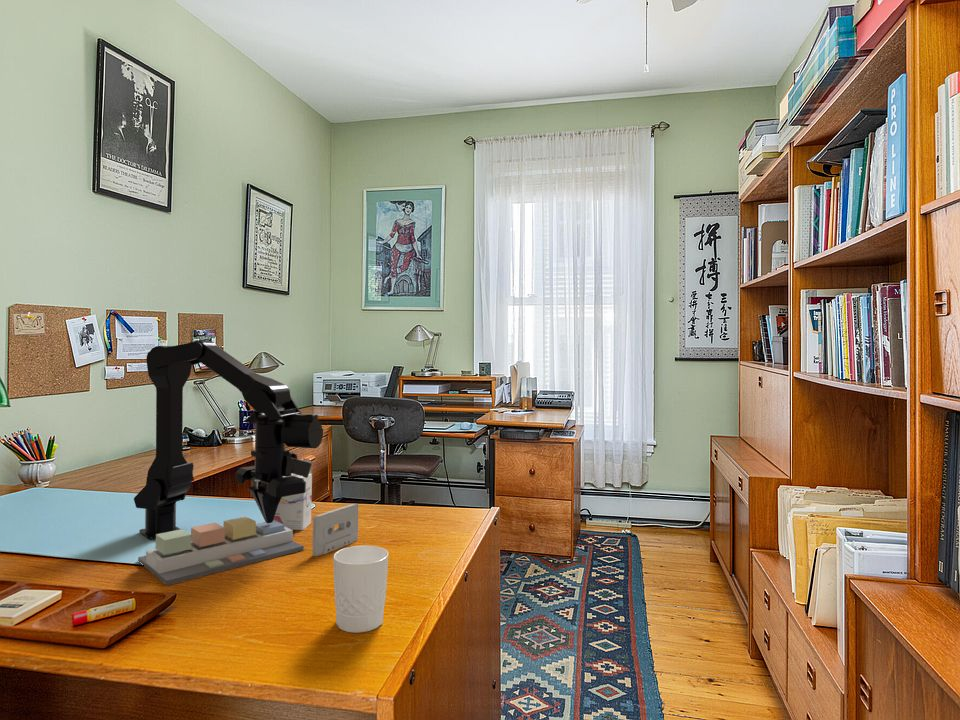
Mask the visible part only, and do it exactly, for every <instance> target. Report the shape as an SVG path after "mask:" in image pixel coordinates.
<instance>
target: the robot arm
mask: <svg viewBox="0 0 960 720" xmlns="http://www.w3.org/2000/svg"><path fill="white" fill-rule="evenodd" d="M198 364H202V365H204V366H205V367H206V368H208V369H209V370H211V371H212V372H213V373H215V374H216V375H218V376H219V377H220V378H222V379H223V380H225V381H226V382H228V383H229V384H230V385H232V386H234V388H236V389H238V391H239V392H240V393H241V395H242V397H243V400H244V401H245V402H246V403H247V404H248V405H249V406H250V407H251V408H252V409H253V410H254V411H253V412H252V413H251V414H250V415H249V416H248V417H247V418H245V421H244V422H245V423H247V424H255V429H254V431H255V433H254V435H255V436H254V440H255V441H254V449H251V451H250V456H251V457H254V465H251V466H242V467H239V468H238V469H237V471H236V472H235V482H237V483H238V484H244V483H246V481H249V480H250V481H251V486H249V487H247V488H248V491H249V492H250V494H251V496H252V498H253V499H254V501H255V503H256V505H257V508H258V509H259V512H260V513H261V516H262V517H263V520H264V522H266V523H272V522H273V519H274V516H275V513H276V510H277V508H278V505H279V502H280V500H281V498H282V497H284V496H290V495H296V494H301V493H305V492H306V482H305V481H304V480H303V479H302V478H299V477H295V476H291V473H293V474H296V475H300V476H303V477H305V478H308V475H309V472H310V469H311V470H312V466H313V463H312V462H311V463H309V462H306V461H302V460H303V459H298V454H296V453H293V452H291V451H290V450H288V449H286V447H289V448H300V449H314V450H315V449H317V448H319V447H320V446H321V444H322V441H323V437H324V429H323V425H322V423H321V421H320V420H319V416H318V414H317V413H308V414H307V413H302V412H301V409H300V408H299V407H298V406H297V404H296V402H295V401H294V399H293V398H292V395H291V389H290V388H289V387H288V386H287V385H286V384H285V383H282V382H280V381H277V380H276V379H273V378H271V377H267V376H264V375H261V374H259V373H257V372H255V371H253V370H252V369H250V368H249V367H248V366H246V365H245V364H243V363H242V362H241V361H239V360H238V359H236V358H235V357H233V356H232V355H231V354H229V353H228V352H226V351H225V350H223V349H222V348H221V347H219V346H218V344H217V343H215V342H214V341H212V340H202V339H201V340H197V339H196V340H194V341H190V342H188V343H183V344H177V345H156V346H154V347H152V348H151V349H150V350H149V351H148V352H147V354H146V368H147V369H146V370H147V375H148V377H149V379H150V381H151V382H152V384H153V385H154V387H155V392H156V394H155V406H156V407H155V410H156V412H155V458H154V459H153V461H152V463H151V465H150V467H149V469H148V470H147V475H146V481H145V485H144V487H143V488H141V490H140V491H139V492H138V493H137V494H136V495H135V496H134V497H133V502H134V504H135V509H145V510H144V512H145V516H144V517H145V519H144V520H145V521H144V525H145V527H144V528H140V529H139V531H138V533H140V534H141V533H142V534H141V535H142V536H144V537H146V538H147V539H148V540H149V539H156V534H160V533H165V532H170V531H175V530H180V529H181V528H180V527H178V526H177V514H176V513H177V503H178V502H180V501H184V500H185V498H186V495H187V493H188V491H189V490H190V489H191V486H192V484H193V483H192V482H194V481H195V479H194V472H193V471H194V466H195V465H194V463H193V462H191V461H190V462H188V461H187V460H186V458H185V456H184V455H183V427H184V426H183V423H184V422H183V418H184V417H183V416H184V415H183V412H184V411H183V406H184V405H183V404H184V403H183V401H184V400H183V399H184V398H183V397H184V395H183V393H184V392H183V391H184V387H185V385H186V383H187V381H188V379H189V378H190V376H191V372H192V366H195V365H198ZM284 476H286V477H284ZM287 476H289V477H287Z"/></svg>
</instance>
